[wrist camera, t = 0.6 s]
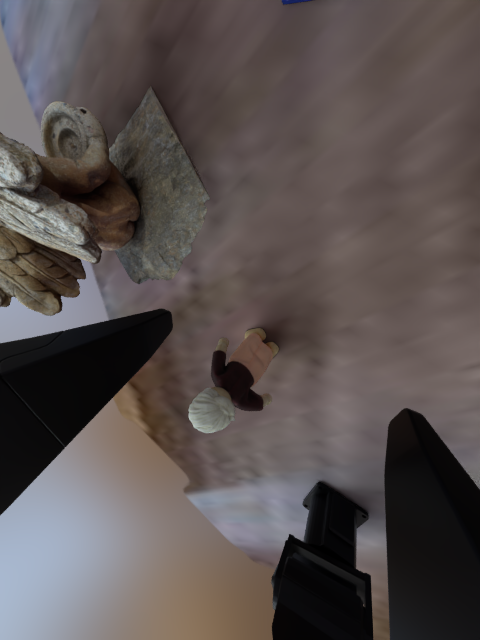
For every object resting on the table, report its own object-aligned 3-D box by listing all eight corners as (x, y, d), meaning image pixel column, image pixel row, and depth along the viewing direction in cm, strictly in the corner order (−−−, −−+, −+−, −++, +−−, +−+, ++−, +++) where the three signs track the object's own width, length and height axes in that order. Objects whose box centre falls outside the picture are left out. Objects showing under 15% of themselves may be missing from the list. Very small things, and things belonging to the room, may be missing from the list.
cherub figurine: (145, 65, 21) (-378, -339, 6) (229, 237, 23) (-7, 248, 8) (83, 187, 31) (-169, 147, 16) (145, 298, 33) (-28, 352, 18)
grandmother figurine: (233, 335, 27) (154, 400, 17) (249, 314, 25) (169, 374, 14) (279, 377, 26) (226, 474, 15) (300, 359, 24) (253, 459, 13)
